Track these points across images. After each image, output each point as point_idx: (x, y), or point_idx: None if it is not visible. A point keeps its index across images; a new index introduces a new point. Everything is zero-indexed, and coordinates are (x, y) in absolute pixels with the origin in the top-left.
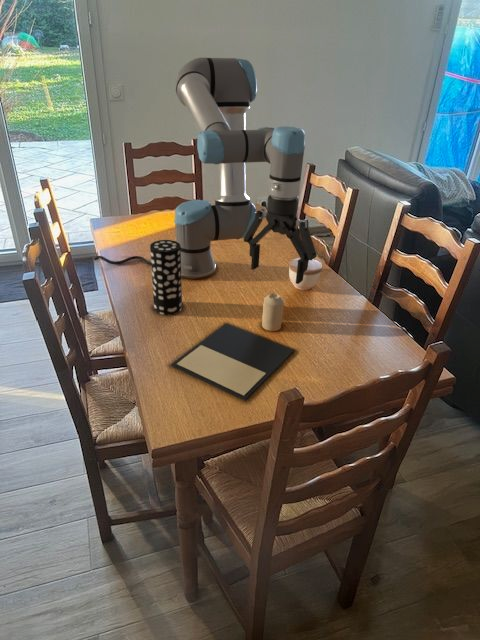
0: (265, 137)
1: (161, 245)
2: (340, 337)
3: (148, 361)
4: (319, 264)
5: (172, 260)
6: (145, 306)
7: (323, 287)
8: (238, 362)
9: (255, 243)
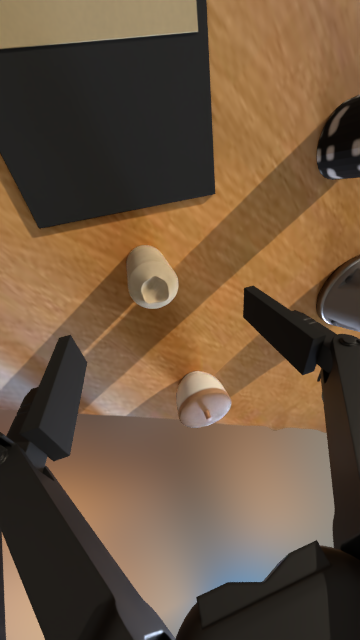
0: None
1: None
2: (38, 334)
3: None
4: (190, 425)
5: None
6: None
7: (170, 397)
8: (60, 34)
9: (327, 362)
